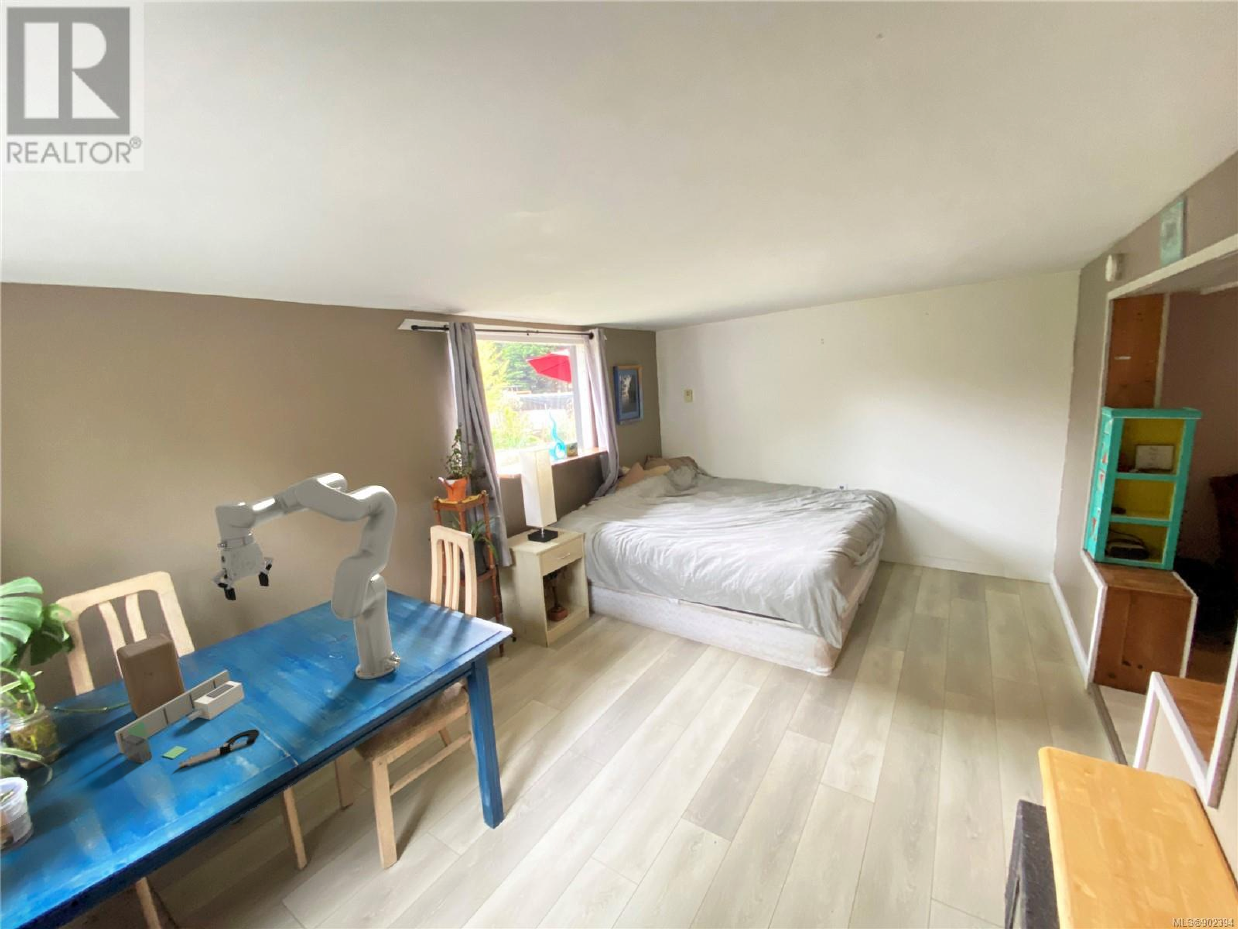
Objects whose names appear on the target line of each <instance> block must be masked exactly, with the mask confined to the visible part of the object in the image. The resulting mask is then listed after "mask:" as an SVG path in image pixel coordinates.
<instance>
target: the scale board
mask: <svg viewBox="0 0 1238 929" xmlns="http://www.w3.org/2000/svg"><path fill="white" fill-rule="evenodd" d="M228 681H231V678H230V674H229V670H227V669H225V670H223V671H221V672H219V673H217V674H216V675H214V676H212V677H210V678H209V679H207V680H204V681H203V682H201V683H200V684H198V685H196V686H195V687H193V688H190V689H188V690H186V691H185V693H183V694H182V695H180V696H178V697H176V698H175V699H173V700H171V701H169V702H167V703H166V704H164V705H162V706H160V707H158V708H157V709H155V710H153V711H151V712H149V713H148V714H146V715H144V716H142V717H141V718H137V719H136V720H134V721H131V722H130V723H128V724H126V725H125V726H123V727H121V728H119V729H118V730H115V731H114V736H115V739H116V743H117V745H118V746H117V747H118V748H119V753H120V754H125V752H124V748H123V745H122V741H123V740H122V739H124V738H126V737H128V736H129V735H134V736H138V737H141V738H144V739H146V740H148V739H149V738H151V737H153V736H154V735H156V734H157V733H159V732H161V731H162V730H164V729H166V728H167V727H169V726H171V725H172V724H174V723H176V722H177V721H179V720H181V719H183V718H184V717H186V716H187V715H190V713H191V714H192V713H193V712H195V711H196V707H195V702H194V701H196V700H198V699H199V698H201V697H203V696H204V695H206V694H208V693H210V692H211V691H213V690H215V689H216V688H218V687H220V686H222V685H223V684H225V683H227V682H228Z"/></svg>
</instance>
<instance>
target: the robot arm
mask: <svg viewBox="0 0 1238 929" xmlns="http://www.w3.org/2000/svg"><path fill="white" fill-rule="evenodd" d="M347 490H348V482H347V480H346V478H345V477H344V476H343V475H342V474H341V473H337V472H325V473H322V474H317V475H314V476H312V477H308V478H306V479H304V480H302V481H300V482H298V483H295V484H291V485H289V486H288V487H286V489H285V490H284V491H282V492H281V491H280V492H278V493H275V494H271V495H270V496H266V497H262V498H259V499H256V500H253V501H250V502H247V503H246V502H245V501H239V500H237V501H229V502H223V503H220V504H218V505H216V507H215V508H214V512H215V517H216V522H217V527H218V532H219V536H220V542H219V543H217V544H216V546H217V548H219V549H220V548H221V549H220V569H221V570H220V571H219V572H218V573H216V574H215V575H214V576H212V578H211V579H210V582H212V584H213V585H215V586H216V587H218V588H220V589H223V592H224V596H225V599H226V600H227V601H232V602H233V601H236V600H237V596H236V595H237V594H236V592H235V591H236V590H235V588H234V587H233V585H234V584H235V582H238V581H241V580H244V579H246V578H249V577H252V576H255V575H258V576H257V577H258V581H259V585H260V586H261V587H266V588H267V587H270V586H269V585H270V584H269V583H270V579H269V575H268V574H269V573H270V570H271V569H272V567H273V565H272V564H273V562H274V557H269V556H264V554H263V551H262V548H261V546H260V544H259V542H258V541H257V540H255V539H254V535H253V529H254V528H257V527H259V526H262V525H264V524H267V523H269V522H272V521H275V520H278V519H280V518H282V517H285V516H288V515H291V514H293V513H302V512H306V511H308V510H310V511H313V512H316V513H317V514H321V515H322V516H325V517H327V518H329V519H332V520H335V521H337V522H341V523H343V524H353V523H358V522H359V521H362V520H363V519H365V518H367V519H366V521H365V523H364V525H363V528H362V530H361V534H360V540H359V544H358V546H357V548H356V550H355V551H353V552H352V553H350V554H349V555H347V556H346V557H344V558H343V559H342V560H341V561H340V562H339V564H338V566H337V568H336V571H335V574H334V575H335V576H334V579H333V580H334V581H333V586H332V592H331V597H330V598H331V599H330V608H331V611H332V613H333V614H334V616H335V617H336V618H338V619H339V620H342V621H350V620H353V629H354V633H355V634H354V635H355V639H356V640H355V641H356V648H357V652H358V658H359V659H358V660H359V664H358V665H357V666H356V667H355V675H356V677H357V678H359V679H362V680H373V679H377V678H380V677H382V676H385V675H388V674H389V673H392V671H394V670H395V669H399V667H400V665H401V664H400V663H401V662H402V661H403V659H402V657H399V656H400V655H398V654H397V653H396V651H394V650H393V645H392V644H393V643H392V638H391V629H390V625H389V624H390V622H389V615H388V607H387V602H388V601H387V600H388V599H387V596H388V595H387V594H388V587H387V582H386V579H384V577H383V576H382V575H381V574H380V573H382V571H383V570H384V569H385V568H386V567H387V565H388V562H389V557H390V552H391V545H392V540H393V534H394V530H395V525H396V521H397V514H398V513H397V512H398V511H397V504H396V501H395V499H394V497H393V495H392V494H391V493H390V492H389V490H388V489H386V488H384V487H383V486H379V485H366V486H364V487H359V488H357V489H356V490H353V491H351V492H348V493H346V492H347ZM222 578H223V582H222V581H221V579H222Z"/></svg>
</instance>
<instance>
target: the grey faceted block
mask: <svg viewBox="0 0 1238 929" xmlns="http://www.w3.org/2000/svg"><path fill="white" fill-rule="evenodd" d="M122 740H123V741H122V745H123V748H124V754H125V758H126V760H127V761H128V760H129V761H130V762H131V761H132V762H135V763H137V764H141V765H142V764H145V763H146V762H148V761H149V760H151V759H152V758H153V754H152V751H151V750H152V749H151V746H150V743H149V740H148V739H144V738H141V737H138V736H134V735H129V736H128V737H126V738H124V739H122Z"/></svg>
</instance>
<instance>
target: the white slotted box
mask: <svg viewBox="0 0 1238 929" xmlns="http://www.w3.org/2000/svg"><path fill="white" fill-rule="evenodd" d="M243 699H244V700H245V693H244V688H243V685H242V683H241V682H236V681H231V680H230V681H228V682H227V683H225V684H223V685H222V686H220V687H218V688H216V689H215V690H213V691H211V692H210V693H208V694H206V695H204V696H203V697H201V698H199V699H198V700H196V701H194V702H195V707H196V710H195V711H193V712H191V714H188V716H187V720H188V721H189V722H192V721H193V720H195V719H197V718H202V719H206V720H209V721H210V720H211V721H212V719H214V718H216V717H217V716H218V715H220V714H222V713H223V712H225V711H226V710H229V709H230V708H231V707H233V706H235V705H236V704H237V703H239V702H241V701H242V700H243Z"/></svg>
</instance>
